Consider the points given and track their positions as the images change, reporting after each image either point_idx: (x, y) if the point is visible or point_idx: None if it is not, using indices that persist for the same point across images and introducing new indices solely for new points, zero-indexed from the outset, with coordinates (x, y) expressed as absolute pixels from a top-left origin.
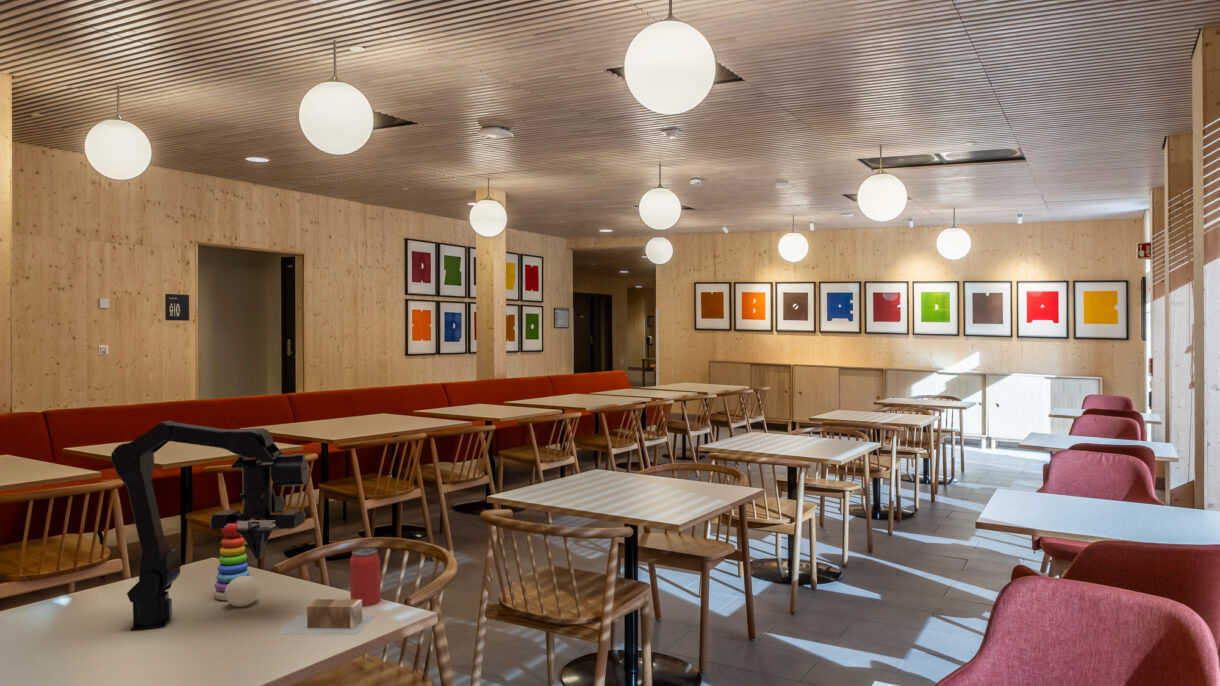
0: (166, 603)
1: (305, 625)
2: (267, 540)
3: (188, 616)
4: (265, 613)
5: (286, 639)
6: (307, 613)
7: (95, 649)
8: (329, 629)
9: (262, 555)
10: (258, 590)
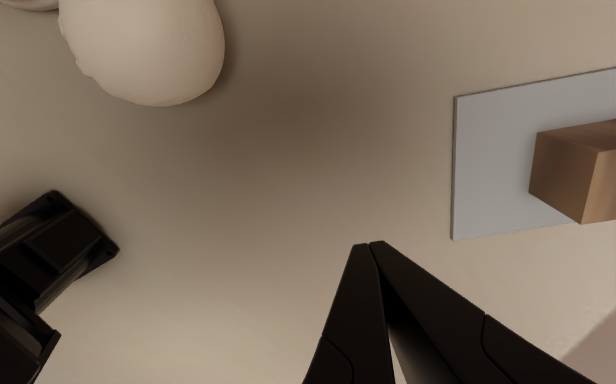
0: (62, 272)
1: (515, 177)
2: (512, 335)
3: (97, 171)
4: (319, 95)
5: (490, 249)
6: (562, 212)
7: (110, 357)
8: None
9: (392, 248)
10: (211, 1)
